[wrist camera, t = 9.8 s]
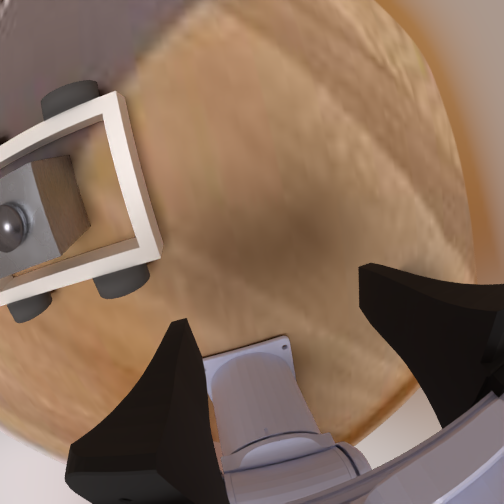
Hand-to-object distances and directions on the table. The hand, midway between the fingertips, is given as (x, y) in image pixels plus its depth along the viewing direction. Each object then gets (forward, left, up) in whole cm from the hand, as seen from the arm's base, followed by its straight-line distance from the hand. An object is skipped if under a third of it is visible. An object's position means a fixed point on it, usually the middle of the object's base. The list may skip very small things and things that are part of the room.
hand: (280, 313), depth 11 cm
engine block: (+6, +12, -10) cm, 16 cm away
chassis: (+6, +12, -9) cm, 16 cm away
